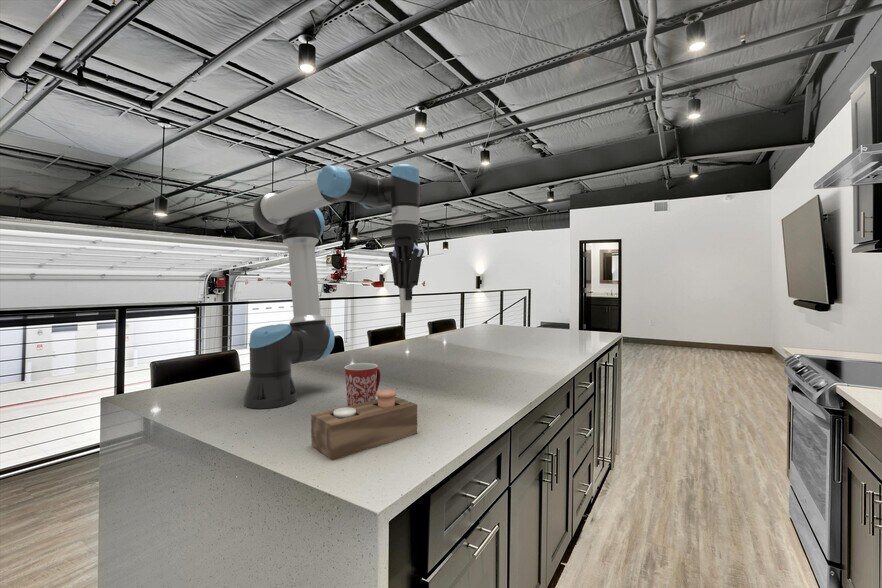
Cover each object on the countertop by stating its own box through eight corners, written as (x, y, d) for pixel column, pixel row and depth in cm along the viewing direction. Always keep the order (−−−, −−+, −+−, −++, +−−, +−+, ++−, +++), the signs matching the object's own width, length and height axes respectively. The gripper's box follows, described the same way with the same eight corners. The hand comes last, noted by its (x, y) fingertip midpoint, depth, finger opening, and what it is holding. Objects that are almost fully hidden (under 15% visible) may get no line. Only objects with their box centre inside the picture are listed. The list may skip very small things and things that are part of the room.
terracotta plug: (372, 418, 94) (372, 391, 94) (389, 414, 97) (388, 388, 97) (383, 423, 90) (383, 395, 90) (400, 419, 94) (400, 391, 94)
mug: (363, 422, 102) (363, 370, 102) (337, 416, 106) (337, 367, 106) (392, 409, 113) (391, 362, 113) (367, 404, 117) (367, 359, 117)
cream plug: (329, 440, 87) (329, 410, 87) (349, 434, 90) (349, 406, 90) (340, 446, 83) (339, 415, 83) (360, 440, 86) (359, 410, 86)
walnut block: (311, 445, 87) (311, 414, 86) (393, 422, 101) (393, 395, 101) (332, 460, 79) (332, 425, 79) (417, 433, 94) (417, 404, 94)
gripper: (380, 226, 107) (380, 312, 107) (409, 219, 97) (409, 314, 97) (402, 228, 112) (402, 311, 112) (432, 223, 102) (432, 313, 102)
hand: (405, 312), depth 105 cm, fingers closed
